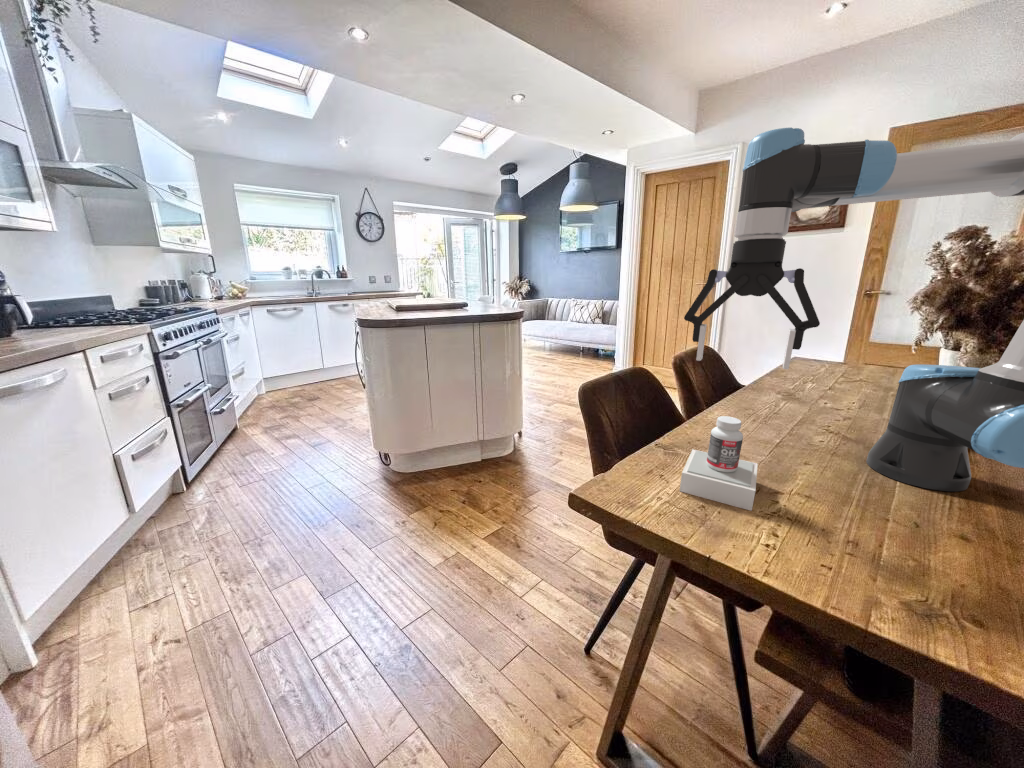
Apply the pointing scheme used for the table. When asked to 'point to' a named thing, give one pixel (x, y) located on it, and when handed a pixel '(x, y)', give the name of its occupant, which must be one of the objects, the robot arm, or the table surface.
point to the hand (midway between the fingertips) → (740, 363)
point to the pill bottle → (725, 445)
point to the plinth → (719, 481)
